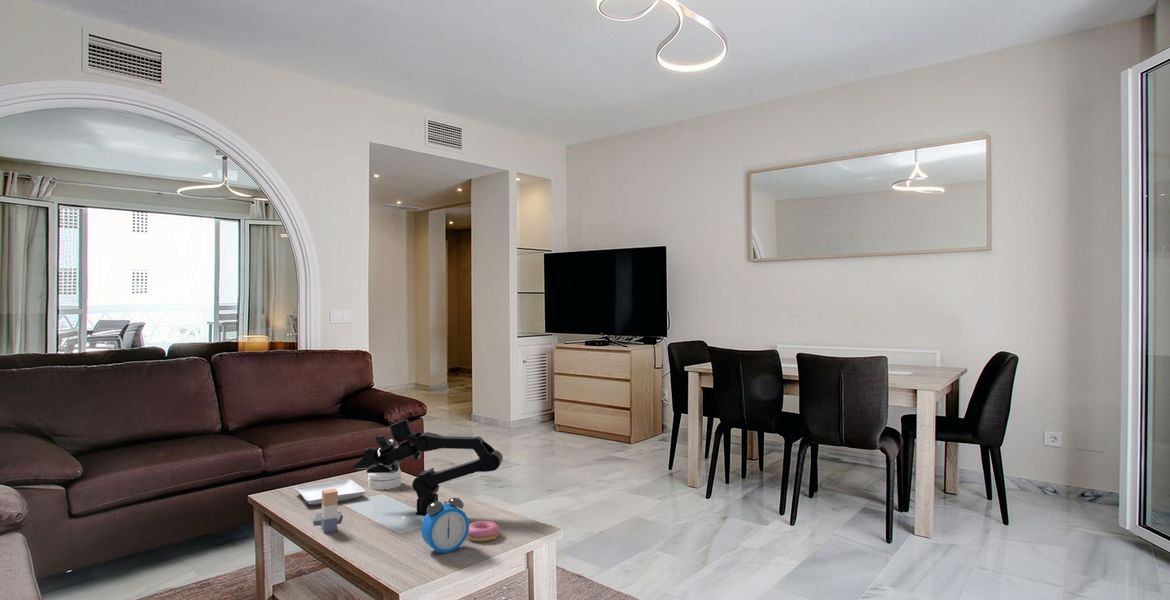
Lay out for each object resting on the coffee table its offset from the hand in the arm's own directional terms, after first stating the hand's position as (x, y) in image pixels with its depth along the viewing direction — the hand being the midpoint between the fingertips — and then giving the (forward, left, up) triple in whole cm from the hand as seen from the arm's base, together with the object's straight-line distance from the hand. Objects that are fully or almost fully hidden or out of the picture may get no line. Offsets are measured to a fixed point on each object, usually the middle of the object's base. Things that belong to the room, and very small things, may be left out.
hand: (360, 469), depth 222 cm
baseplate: (+5, +11, -14) cm, 19 cm away
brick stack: (-1, +19, -15) cm, 24 cm away
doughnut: (-51, +13, -15) cm, 55 cm away
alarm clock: (-44, +26, -15) cm, 53 cm away
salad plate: (+20, -12, -15) cm, 28 cm away
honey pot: (+8, -31, -15) cm, 35 cm away
